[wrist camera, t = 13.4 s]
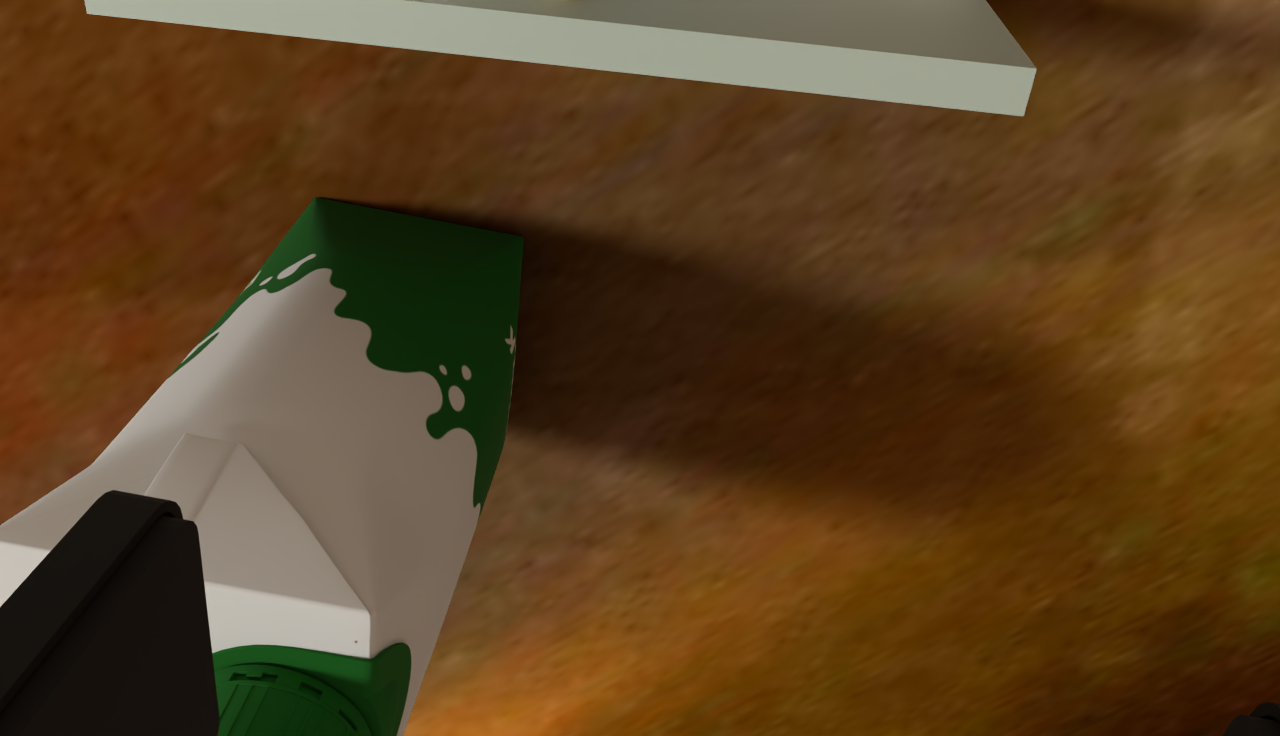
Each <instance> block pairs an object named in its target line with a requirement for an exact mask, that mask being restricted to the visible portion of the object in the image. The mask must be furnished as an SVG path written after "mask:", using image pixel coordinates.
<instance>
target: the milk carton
mask: <svg viewBox="0 0 1280 736" xmlns="http://www.w3.org/2000/svg"><path fill="white" fill-rule="evenodd" d="M523 244H524V237H522V236H517V235H512V234H506V233H501V232H496V231H490V230H485V229H480V228H475V227H469V226H464V225H459V224H453V223H448V222H443V221H438V220H432V219H427V218H422V217H417V216H411V215H406V214H401V213H395V212H390V211H385V210H380V209H374V208H369V207H364V206H358V205H353V204H348V203H343V202H337V201H332V200H327V199H322V198H316V197H315V198H314V199H313V201H312V202H311V203H310V205H309V206H308V207H307V209H306V210H305V211H304V212H303V214H302V215H301V216H300V218H299V219H298V220H297V222H296V223H295V224H294V225H293V227H292V228H291V229H290V231H289V232H288V233H287V235H286V236H285V237H284V239H283V240H282V241H281V242H280V244H279V245H278V246H277V248H276V249H275V250H274V252H273V253H272V254H271V255H270V257H269V258H268V259H267V261H266V262H265V263H264V265H263V266H262V267H261V268H260V270H259V271H258V272H257V274H256V275H255V276H254V278H253V279H252V280H251V281H250V283H249V284H248V285H247V287H246V288H245V289H244V291H243V292H242V293H241V294H240V296H239V297H238V298H237V299H236V301H235V302H234V303H233V304H232V305H231V307H230V308H229V309H228V310H227V311H226V312H225V314H224V315H223V316H222V317H221V318H220V319H219V320H218V322H217V323H216V324H215V325H214V326H213V327H212V328H211V330H210V331H209V332H208V333H207V334H206V335H205V336H204V338H203V339H202V340H201V341H200V342H199V343H198V344H197V346H196V347H195V348H194V349H193V350H192V351H191V352H190V354H189V355H188V356H187V357H186V358H185V359H184V360H183V362H182V363H181V364H180V365H179V366H178V367H177V368H176V370H175V371H174V372H173V373H172V374H171V375H170V376H169V378H168V379H167V380H166V381H165V382H164V383H163V384H162V385H161V387H160V388H159V389H158V390H157V391H156V392H155V393H154V395H153V396H152V397H151V398H150V399H149V400H148V401H147V403H146V404H145V405H144V406H143V407H142V408H141V409H140V411H139V412H138V413H137V414H136V415H135V416H134V417H133V419H132V420H131V421H130V422H129V423H128V424H127V425H126V426H125V428H124V429H123V430H122V431H121V432H120V433H119V434H118V436H117V437H116V438H115V439H114V440H113V441H112V442H111V443H110V445H109V446H108V447H107V448H106V449H105V450H104V451H103V452H102V454H101V455H100V456H99V457H98V458H97V459H96V460H95V461H94V463H93V464H92V465H91V466H89V467H88V468H86V469H85V470H83V471H82V472H80V473H79V474H77V475H76V476H74V477H73V478H71V479H70V480H68V481H67V482H65V483H64V484H62V485H61V486H59V487H58V488H56V489H55V490H53V491H52V492H50V493H49V494H47V495H46V496H44V497H42V498H41V499H39V500H38V501H36V502H35V503H33V504H32V505H30V506H29V507H27V508H26V509H24V510H23V511H21V512H20V513H18V514H17V515H15V516H14V517H12V518H11V519H9V520H8V521H6V522H5V523H3V524H1V525H0V607H1V606H2V604H3V603H4V602H5V601H6V600H7V599H8V598H9V597H10V596H11V595H12V593H13V592H14V591H15V590H16V589H17V588H18V587H19V586H20V585H21V583H22V582H23V581H24V580H25V579H26V578H27V577H28V576H29V575H30V573H31V572H32V571H33V570H34V569H35V568H36V567H37V566H38V565H39V563H40V562H41V561H42V560H43V559H44V558H45V557H46V556H47V555H48V553H49V552H50V551H51V550H52V549H53V548H54V547H55V546H56V545H57V543H58V542H59V541H60V540H61V539H62V538H63V537H64V536H65V535H66V533H67V532H68V531H69V530H70V529H71V528H72V527H73V526H74V525H75V524H76V522H77V521H78V520H79V519H80V518H81V517H82V516H83V515H84V514H85V512H86V511H87V510H88V509H89V508H90V507H91V506H92V505H93V504H94V502H95V501H96V500H97V499H98V498H100V497H101V496H102V495H103V494H104V493H106V492H109V491H112V490H117V491H122V492H128V493H133V494H138V495H144V496H149V497H155V498H160V499H166V500H171V501H174V502H176V503H177V504H178V505H179V507H180V508H181V512H182V516H183V519H185V520H190V521H194V523H195V524H196V525H197V529H198V533H199V542H200V550H201V559H202V568H203V577H204V585H205V594H206V603H207V612H208V621H209V629H210V638H211V647H212V656H213V665H214V673H215V682H216V691H217V700H218V708H219V730H218V735H217V736H403V734H404V732H405V729H406V726H407V723H408V720H409V717H410V715H411V712H412V709H413V706H414V703H415V700H416V697H417V695H418V692H419V689H420V686H421V683H422V681H423V678H424V675H425V672H426V669H427V667H428V664H429V661H430V658H431V655H432V653H433V650H434V647H435V644H436V641H437V638H438V636H439V633H440V630H441V627H442V624H443V621H444V618H445V616H446V613H447V610H448V607H449V604H450V601H451V598H452V595H453V592H454V590H455V587H456V584H457V581H458V578H459V575H460V572H461V569H462V566H463V563H464V561H465V558H466V555H467V552H468V549H469V546H470V543H471V540H472V537H473V534H474V532H475V529H476V526H477V523H478V520H479V517H480V514H481V511H482V508H483V505H484V502H485V499H486V497H487V494H488V491H489V488H490V485H491V482H492V479H493V476H494V473H495V470H496V467H497V464H498V461H499V458H500V455H501V452H502V449H503V445H504V441H505V437H506V432H507V424H508V417H509V410H510V403H511V394H512V385H513V374H514V364H515V352H516V340H517V327H518V313H519V300H520V286H521V271H522V257H523Z"/></svg>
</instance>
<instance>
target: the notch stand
mask: <svg viewBox="0 0 1280 736" xmlns="http://www.w3.org/2000/svg"><path fill="white" fill-rule="evenodd" d="M85 5H86V10H87V14H95V15H104V16H114V17H123V18H132V19H141V20H150V21H159V22H168V23H177V24H187V25H196V26H205V27H214V28H223V29H232V30H241V31H250V32H259V33H269V34H278V35H287V36H296V37H305V38H314V39H323V40H332V41H342V42H351V43H360V44H369V45H378V46H387V47H396V48H405V49H415V50H424V51H433V52H442V53H451V54H460V55H469V56H478V57H487V58H497V59H506V60H515V61H524V62H533V63H542V64H551V65H560V66H570V67H579V68H588V69H597V70H606V71H615V72H624V73H633V74H642V75H652V76H661V77H670V78H679V79H688V80H697V81H706V82H715V83H725V84H734V85H743V86H752V87H761V88H770V89H779V90H788V91H798V92H807V93H816V94H825V95H834V96H843V97H852V98H861V99H870V100H880V101H889V102H898V103H907V104H916V105H925V106H934V107H943V108H953V109H962V110H971V111H980V112H989V113H998V114H1007V115H1016V116H1024V113H1025V109H1026V106H1027V102H1028V99H1029V95H1030V91H1031V88H1032V84H1033V80H1034V77H1035V73H1036V70H1037V68H1036V67H1035V66H1034V64H1033V63H1032V62H1031V60H1030V59H1029V58H1028V56H1027V55H1026V54H1025V52H1024V51H1023V50H1022V48H1021V47H1020V46H1019V44H1018V43H1017V41H1016V40H1015V39H1014V37H1013V36H1012V35H1011V33H1010V32H1009V31H1008V29H1007V28H1006V27H1005V25H1004V24H1003V23H1002V21H1001V20H1000V19H999V17H998V16H997V15H996V13H995V12H994V11H993V9H992V8H991V7H990V5H989V4H988V3H987V1H986V0H85Z"/></svg>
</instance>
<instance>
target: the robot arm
mask: <svg viewBox="0 0 1280 736" xmlns="http://www.w3.org/2000/svg"><path fill="white" fill-rule="evenodd" d="M218 730H219V708H218V700H217V691H216V682H215V673H214V665H213V656H212V647H211V638H210V629H209V621H208V612H207V603H206V594H205V585H204V577H203V568H202V559H201V550H200V542H199V533H198V529H197V525H196V524H195V523H194V521H190V520H185V519H183V516H182V512H181V508H180V507H179V505H178V504H177V503H176V502H174V501H171V500H166V499H160V498H155V497H149V496H144V495H138V494H133V493H128V492H122V491H117V490H112V491H109V492H106V493H104V494H103V495H102V496H101V497H100V498H98V499H97V500H96V501H95V502H94V504H93V505H92V506H91V507H90V508H89V509H88V510H87V511H86V512H85V514H84V515H83V516H82V517H81V518H80V519H79V520H78V521H77V522H76V524H75V525H74V526H73V527H72V528H71V529H70V530H69V531H68V532H67V533H66V535H65V536H64V537H63V538H62V539H61V540H60V541H59V542H58V543H57V545H56V546H55V547H54V548H53V549H52V550H51V551H50V552H49V553H48V555H47V556H46V557H45V558H44V559H43V560H42V561H41V562H40V563H39V565H38V566H37V567H36V568H35V569H34V570H33V571H32V572H31V573H30V575H29V576H28V577H27V578H26V579H25V580H24V581H23V582H22V583H21V585H20V586H19V587H18V588H17V589H16V590H15V591H14V592H13V593H12V595H11V596H10V597H9V598H8V599H7V600H6V601H5V602H4V603H3V604H2V606H1V607H0V736H217V735H218ZM1223 736H1280V704H1275V703H1267V702H1265V703H1263V704H1261V705H1259V706H1257V707H1256V709H1255V710H1254V711H1253V712H1252V713H1251V714H1250V716H1247V715H1240V716H1238V717H1236V718H1235V719H1234V720H1233V721H1232V722H1231V723H1230V725H1229V727H1228V728H1227V730H1226V732H1225V733H1224V735H1223Z"/></svg>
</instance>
